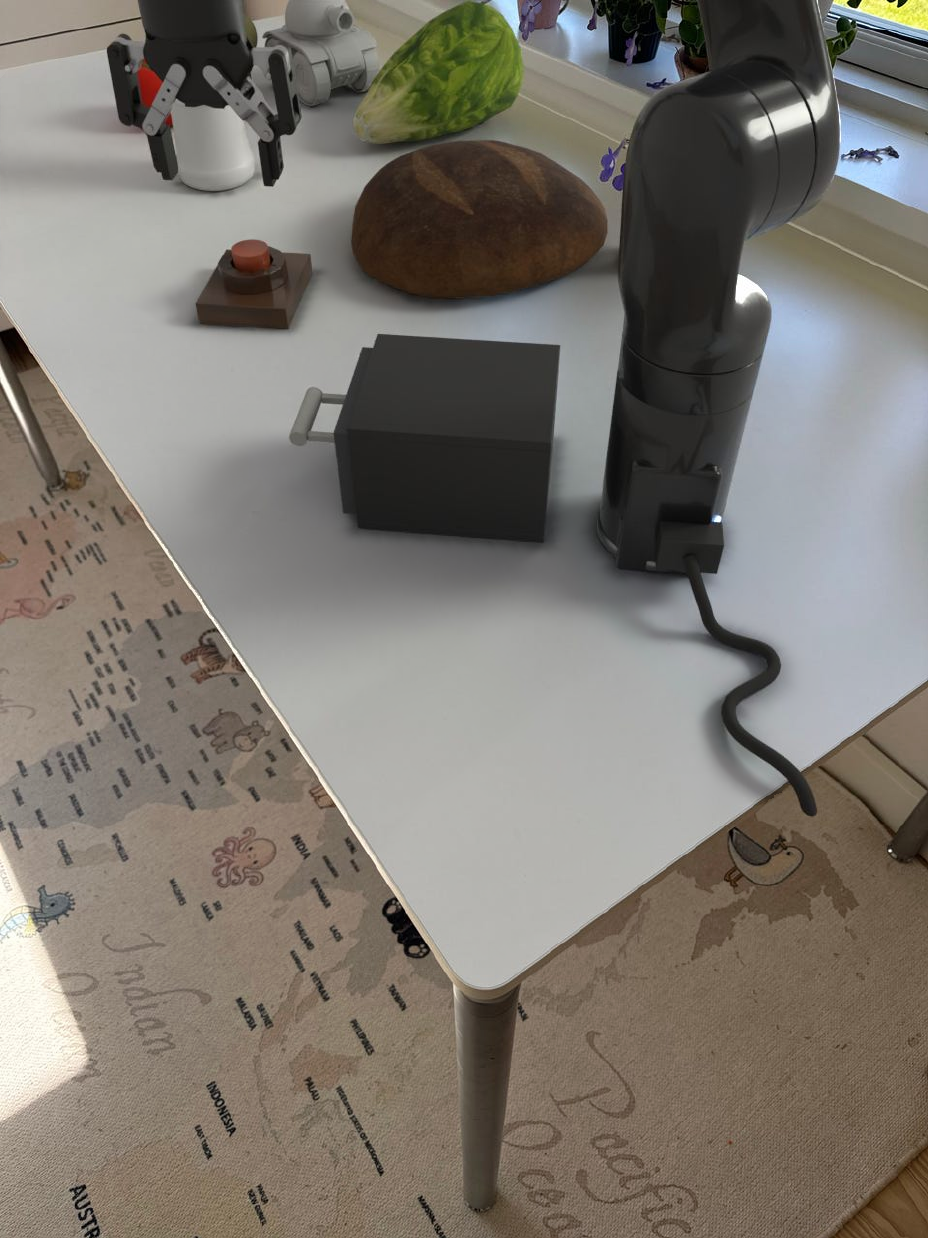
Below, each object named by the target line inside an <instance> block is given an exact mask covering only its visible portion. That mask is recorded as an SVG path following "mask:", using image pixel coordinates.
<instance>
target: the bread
mask: <svg viewBox="0 0 928 1238" xmlns="http://www.w3.org/2000/svg"><path fill="white" fill-rule="evenodd" d="M606 210H607V209H606V208H605V206H604V204H603V203H602V201H601V200H600V198H599V196H597V194H596V193H595V192H594V190H593V189H592V188H591V187H590V186H589V185H588V184H587V183H586V182H585V181H584V180H583V179H581V177H580V176H577V175H576V174H574V173H573V172H572V171H570V170H568V169H567V168H565V167H564V166H563V165H561V164H559V163H558V162H556V161H555V160H553V159H552V158H550V157H548V156H547V155H545V154H543V153H541V152H539V151H536V150H533V149H530V148H528V147H524V146H521V145H516V144H512V143H508V142H505V141H499V140H493V139H477V140H476V139H474V140H455V141H448V142H442V143H438V144H431V145H428V146H424V147H422V148H417V149H415V150H412V151H409V152H406V153H404V154H401V155H399V156H397V157H396V158H394V159H393V160H391V161H390V162H387V163H386V164H385V165H383V166H382V167H381V168H380V169H378V171H376V173H375V174H374V175H373V176H372V178H371V179H370V180H369V181H368V182H367V183H366V184H365V185H364V187H363V189H362V192H361V194H360V195H359V198H358V200H357V202H356V204H355V207H354V211H353V218H352V227H351V237H350V244H351V248H352V254H353V256H354V259H355V260H356V262H357V264H358V265H359V266H360V268H361V269H362V271H363V272H364V273H366V274H367V275H368V276H370V277H372V278H373V279H375V280H377V281H379V282H381V283H383V284H386V285H388V286H391V287H393V288H395V289H396V290H399V291H403V292H406V293H408V294H412V295H414V296H421V297H428V298H429V297H430V298H435V299H436V298H437V299H454V298H455V299H456V298H458V299H459V298H460V299H462V298H463V299H464V298H479V297H480V298H481V297H492V296H493V297H494V296H498V295H503V294H509V293H513V292H518V291H522V290H525V289H529V288H532V287H536V286H539V285H542V284H545V283H548V282H550V281H553V280H557V279H559V278H562V277H565V276H566V275H568V274H570V273H571V272H574V271H575V270H577V269H578V268H580V267H582V266H583V265H584V264H586V263H587V262H588V261H589V260H590V259H592V258H593V257H594V256H595V255H596V254H597V253H599V251H600V250H601V249H602V248H603V247H604V245H605V242H606V240H607V239H606V238H607V237H608V232H609V231H608V228H609V227H608V226H609V225H608V215H607V211H606Z"/></svg>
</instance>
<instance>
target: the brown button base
mask: <svg viewBox="0 0 928 1238" xmlns="http://www.w3.org/2000/svg"><path fill="white" fill-rule="evenodd" d="M268 249H269V256H270V262H271V263H270V266H268V267H267V268H265V269H263V270H258V271H253V272H247V271H239V270H237V269H235V267H234V263H233V257H232V252H231V249H226V250H225V251H224V253H223V255H222V256H220V259H219V260H218V262H217V265H216V267H215V268H214V270H213V271H212V274H211V275H210V277H209V278H208V280H207V282H206V284H205V286H204V287H203V289H202V290H201V293H200V294H199V297H198V298H197V299H196V301H195V309H196V313H197V319H198V322H199V324H204V325H219V326H235V327H236V326H237V327H252V328H269V329H285V330H288V329H290V326H291V323H292V321H293V319H294V317H295V314H296V312H297V311H298V308H299V306H300V303H301V301H302V299H303V297H304V294H305V292H306V289H307V287H308V285H309V283H310V280H311V278H312V277H313V276H312V275H313V271H314V270H313V263H312V255H311V254H310V253H301V252H299V253H298V252H284V251H283V252H282V250H280V249H278V248H275V247H272V246H270V245H268Z"/></svg>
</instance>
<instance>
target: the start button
mask: <svg viewBox="0 0 928 1238" xmlns="http://www.w3.org/2000/svg"><path fill="white" fill-rule="evenodd" d="M268 246H269V244H267V243H266V242H265V241H263V240H260V239H251V238H250V239H244V240H240V241H237V242H235V243H234V244H233V245H232V246H231V249H230V250H231V252H232V257H233V263H234V267H235V269H237V270H239V271H247V272H253V271H258V270H263V269H265V268H267V267H268V266H270V263H271V262H270V256H269V249H268Z"/></svg>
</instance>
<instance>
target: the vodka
mask: <svg viewBox="0 0 928 1238" xmlns="http://www.w3.org/2000/svg"><path fill="white" fill-rule="evenodd" d="M171 116H172V122H173V126H172V127H173V133H174V135H173V136H174V146H175V153H176V158H177V163H178V173H177V175H178V177H179V179H180V180H181V181H182V183H183V184H185V185H186V186H188V187H190V188H193V189H195V190H199V191H203V192H222V191H229V190H232V189H236V188H239V187H240V186H243V185H244V184H246V183H247V182H248V181H249V180H251V178H253V177H254V175H255V171H256V161H255V155H254V151H253V150H252V148H251V144H250V142H249V138H248V134H247V131H246V126H245V121H244V120H242V119H241V118H240V117H239V116H238V115H237V114H236V113H235V111H234V110H233V109H232V108H231V107H230V105H227V106H225V108H224V109H218V108H212V107H209V106H206V105H202V106H198V107H185V104H184V103H182V102H180V101H179V100H178V99H177V101H176V102H175V104H174V106H173V108H172V110H171Z"/></svg>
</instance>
